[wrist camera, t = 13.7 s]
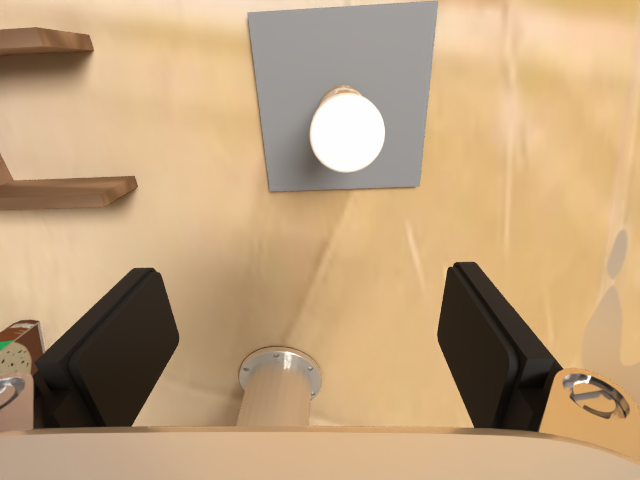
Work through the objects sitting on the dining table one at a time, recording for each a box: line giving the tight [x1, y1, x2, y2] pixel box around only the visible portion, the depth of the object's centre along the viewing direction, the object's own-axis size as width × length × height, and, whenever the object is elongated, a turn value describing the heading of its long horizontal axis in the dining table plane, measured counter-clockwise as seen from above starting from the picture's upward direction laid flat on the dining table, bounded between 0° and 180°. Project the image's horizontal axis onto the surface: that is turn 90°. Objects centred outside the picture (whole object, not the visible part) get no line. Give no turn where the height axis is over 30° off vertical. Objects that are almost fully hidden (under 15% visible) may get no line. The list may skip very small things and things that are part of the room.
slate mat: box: [248, 1, 438, 192], centre depth 31 cm, size 16×16×1 cm
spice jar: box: [310, 85, 385, 173], centre depth 25 cm, size 5×5×14 cm
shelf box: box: [0, 27, 138, 210], centre depth 31 cm, size 14×15×6 cm
